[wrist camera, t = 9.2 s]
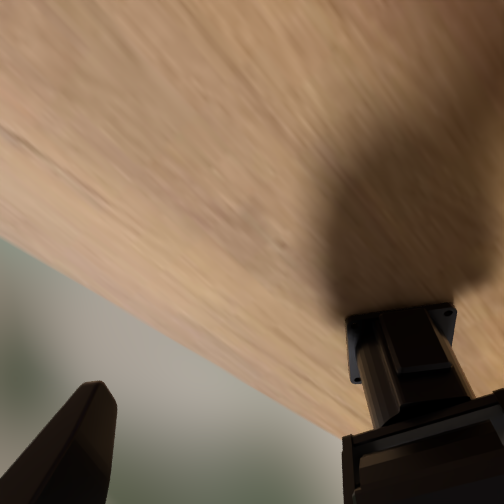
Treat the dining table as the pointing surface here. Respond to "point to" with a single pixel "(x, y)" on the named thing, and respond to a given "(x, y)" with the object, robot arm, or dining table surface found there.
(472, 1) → the dining table surface
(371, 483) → the robot arm
